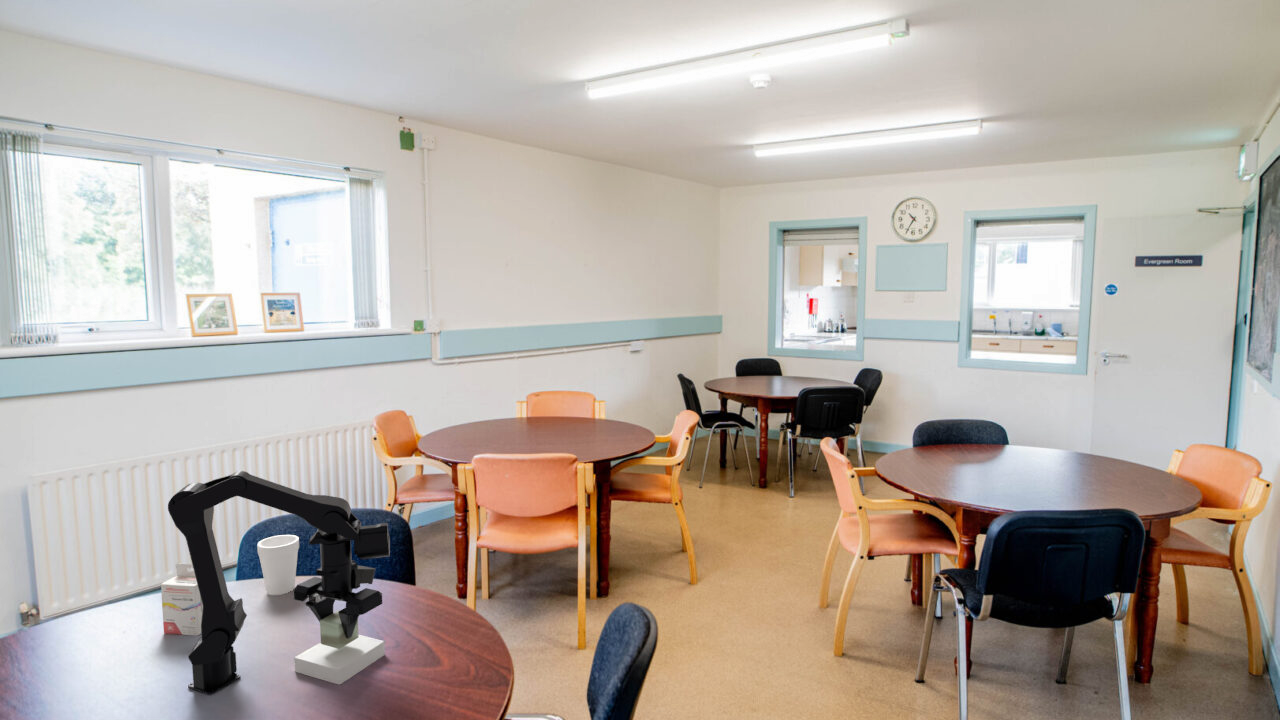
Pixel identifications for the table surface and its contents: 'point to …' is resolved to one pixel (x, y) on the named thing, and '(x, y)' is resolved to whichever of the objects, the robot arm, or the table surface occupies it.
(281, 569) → the foam cup
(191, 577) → the ink cartridge box
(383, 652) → the white block
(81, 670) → the table surface
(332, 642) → the sage cube
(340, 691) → the table surface
